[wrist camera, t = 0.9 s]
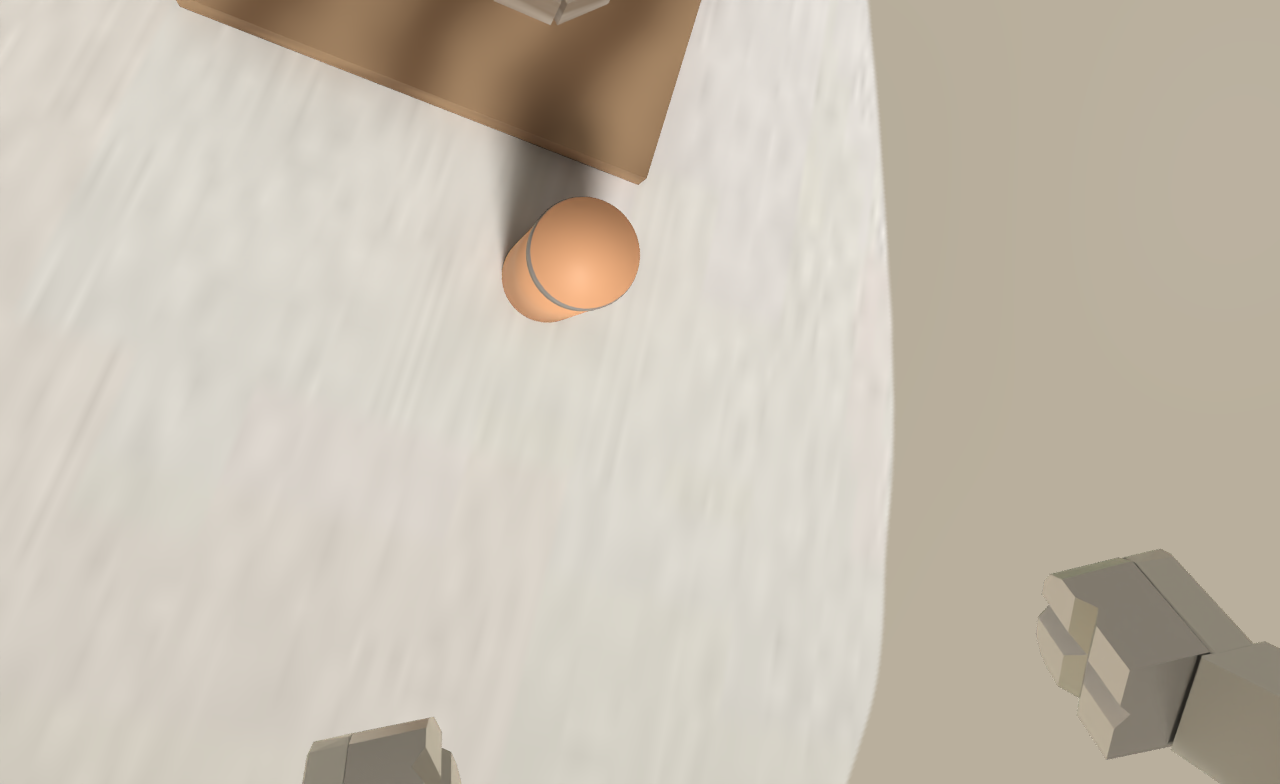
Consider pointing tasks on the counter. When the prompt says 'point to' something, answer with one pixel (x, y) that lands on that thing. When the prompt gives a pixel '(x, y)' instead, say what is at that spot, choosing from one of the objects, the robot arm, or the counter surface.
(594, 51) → the carrier board
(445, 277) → the counter surface
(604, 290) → the hub peg
